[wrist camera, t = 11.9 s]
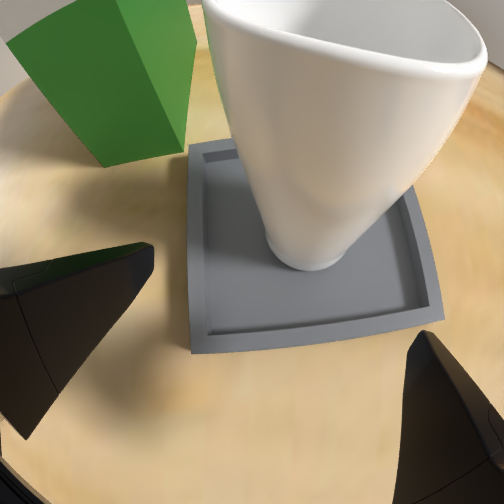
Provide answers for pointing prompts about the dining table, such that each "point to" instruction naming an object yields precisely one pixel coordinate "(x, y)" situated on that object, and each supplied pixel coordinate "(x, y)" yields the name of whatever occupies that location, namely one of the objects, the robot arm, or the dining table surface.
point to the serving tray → (295, 270)
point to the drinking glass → (338, 108)
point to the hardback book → (109, 69)
